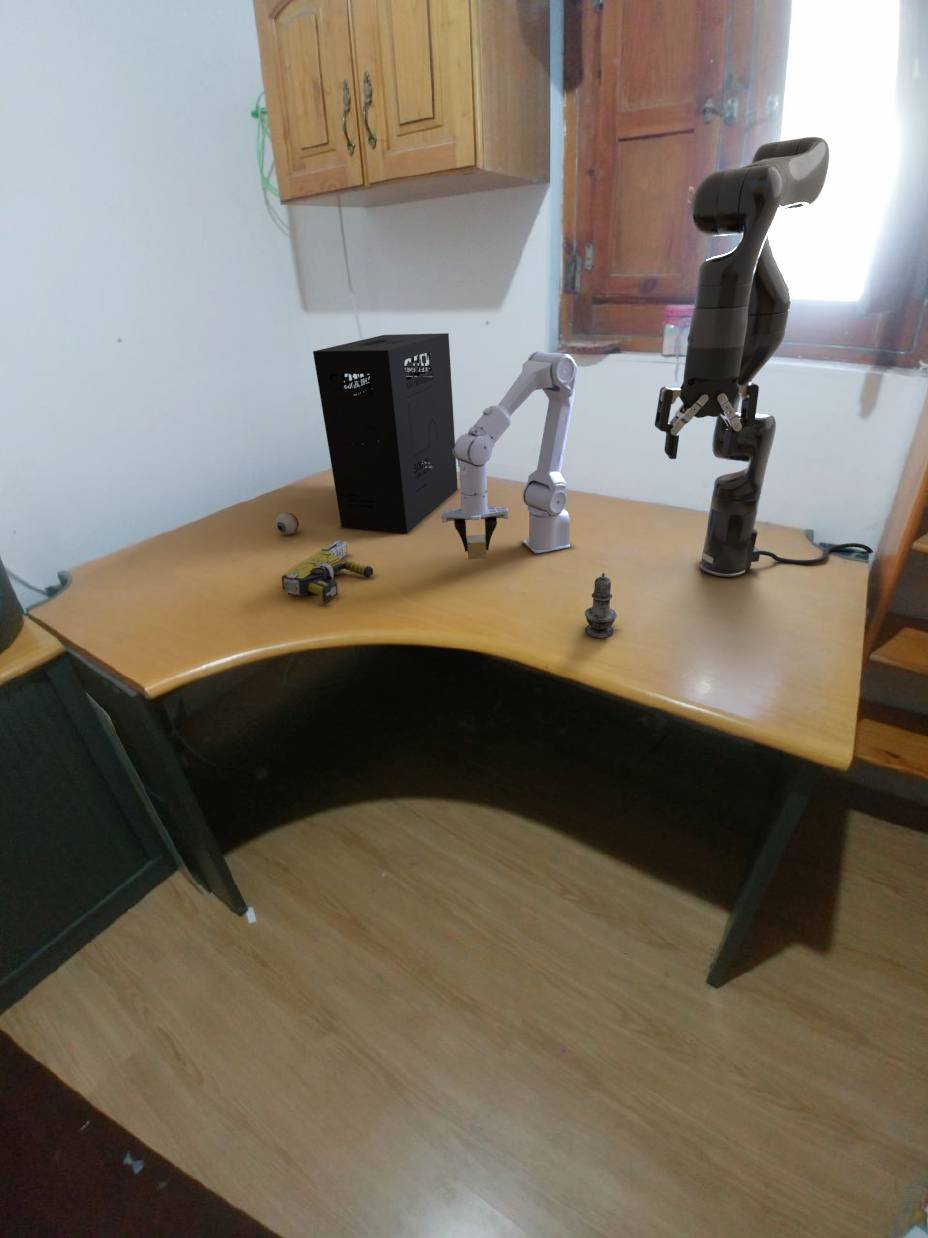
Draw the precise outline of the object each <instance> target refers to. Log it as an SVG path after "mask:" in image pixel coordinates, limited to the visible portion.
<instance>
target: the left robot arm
mask: <svg viewBox="0 0 928 1238" xmlns="http://www.w3.org/2000/svg"><path fill="white" fill-rule="evenodd" d="M527 358H528V359H527V360H526V361H524V362H523V363H522V367H521V372H520V374H519V375H518V377H516V379H515V381H514V382H512V383H513V384H511V386H510V387H509V389H508V390H507V392H506V393H505V395H504V396H503V397H502V398H501V400H500V402H499V403H498V404H497V405H490V406H489V407H485V408H484V410H483V411H482V415H481V416H480V417H479V419H477V421H476V422H475V424H474V425H473V426H471V427H470V428H469V430H468V432H467V433H464V434H461V435H460V436H459V437H458V438H457V439H456V440H455V448H453V454H454V456H455V458H456V461H457V465H458V467H459V468H458V469H459V485H460V501H461V502H460V504H461V508H456V509H455V508H454V509H450V510H442V511H441V520H442V523H448V522H454V528H455V530H456V531H457V533H458V535H459V537H460V539H461V542H462V544H463V547H464V552H465V553H466V552H467V553H468V546H467V525H466V524H467V523H466V521H480V520H484V530H485V531H484V535H485V539H486V551H490V543H491V540H492V536H493V534H494V532H495V530H496V527H497V525H498V520H497V519H503V520H507V519H509V509H508V507H496V506H489V505H488V476H487V475H488V474H487V462H489V461H490V459H491V457H492V455H493V449H494V447H495V444H496V443H497V441H499V439H500V438H501V437H502V435H503V434H504V433H505V432H506V431H507V429H508V428H510V426H511V416H512V415H513V414H514V413H515V412H516V411H517V409H519V408H520V406H522V405H523V403H524V402H525V401H526V400H527V399H528V398H529V397H531V395H532V394H533V393H534V391H538V390H542V391H543V393H544V394H545V395H546V397H547V398H548V404H547V409H546V416H545V422H544V426H543V427H544V428H543V433H542V439H541V445H540V451H539V456H538V460H537V461H538V462H537V467H536V470H534V471H533V472H532V473H530V474H529V475H528V477H527V482H526V484H525V486H524V488H523V491H522V500H523V502H524V504H525V505H526V506H527V511H529V512H528V513H529V514H528V539H524V540H523V541H522V543H523V544H524V545H525V546H526V547H527V548H528V549H530V550H531V551H532V552H533V553H534V554H537V555H538V554H542V553H548V552H552V551H558V550H564V549H568V548H571V544H570V535H571V534H570V533H571V532H570V531H571V519H570V514H569V512H568V511H567V509H566V505H567V502H568V495H567V486H568V483H567V481H566V480H565V478H564V477H563V475H562V473H561V470H562V465H563V460H564V454H565V449H566V445H567V440H568V433H569V429H570V423H571V418H572V412H573V407H574V403H575V397H576V385H575V384H576V380H577V376H578V371H579V370H578V369H579V367H578V365H577V363H576V361H575V359H573V357H572V356H571V355H570V354H568V353H551V352H543V351H539V350H538V351H537V350H536V351H534V352H533V353H531V354H530V355H529V357H527Z"/></svg>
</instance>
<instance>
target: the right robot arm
mask: <svg viewBox="0 0 928 1238" xmlns="http://www.w3.org/2000/svg"><path fill="white" fill-rule="evenodd" d="M829 160H830V147H829V144H828V142H827V141H826V140H825V139H824V138H822V137H818V136H808V137H801V138H794V139H793V138H792V139H787V140H781V141H773V142H768V143H764V144H762V145H760V146H759V147H758V148H757V150H756V151H755V153H754V155H753V158H752V160H751V163H749V164H748V165H745V166H742V167H738V168H729V169H721V170H718V171H717V170H715V171H712V172H710V173H708V175H706V176H705V177H704V178H703V179H702V180H701V181H700V183H699V184H698V186H697V187H696V189H695V191H694V194H693V196H692V199H691V204H690V218H691V222H692V225H693V227H694V228H695V230H696V231H697V232H698V233H700V234H701V235H703V236H705V237H718V236H728V235H729V236H731V235H742V236H741V239H740V241H739V243H738V244H737V246H736V247H735V248H734V249H732V251H730V252H728V253H725V254H721V255H717V256H713V257H711V258H708V259H706V260H704V261H703V262H701V264H700V266H699V269H698V275H697V281H696V287H695V288H696V289H695V297H694V305H693V306H694V307H693V311H692V316H691V319H690V323H689V328H688V329H689V331H688V335H687V346H686V353H685V360H684V361H685V362H684V371H683V381H682V384H681V386H680V388H669V387H667V386H662V387H661V388H660V390H659V395H658V400H657V401H658V402H657V407H656V415H655V418H654V419H655V420H654V427H655V428H657V430H659V431H660V432H664V433H665V441H664V453H665V454H666V456H667V457H668V458H669V459H670V460H677V456H678V450H679V449H678V448H679V440H680V434H679V432H680V431H681V430H682V429H683V428H684V426H685V425H686V424H688V423H690V422H691V420H692V419H693V418H694V417H695V418H697V419H701V418H706V417H712V418H716V419H715V424H714V429H713V435H712V443H711V450H712V455H713V456H714V457H715V458H716V459H718V460H725V461H732V462H733V461H734V462H741V463H748V464H747V467H745V468H744V469H741V470H739V471H735V472H730V473H726V474H722V475H719V476H717V478H715V480H714V482H713V487H712V492H711V499H710V505H709V512H708V517H707V525H706V531H705V537H704V544H703V549H702V553H701V561H700V564H699V565H700V570H702V571H703V572H705V573H706V574H709V575H712V576H716V577H720V578H735V577H736V578H737V577H740V576H742V575H744V574H745V573H750V571H751V565H752V563H756V562H759V561H760V556H765V557H770V558H772V560H774V561H775V562H779V563H785V564H793V565H815V564H819V563H823V562H824V561H826V560H827V559H828V556H829V552H832V551H834V550H840V549H846V548H860V549H863V550H865V551H866V552H867V553H871V554H872V553H874V550H873V549H872V548H871V547H870V546H868V545H866V544H864V543H859V542H848V543H840V544H835V545H830V546H827V547H826V548H824V550H823V553H822V556H821V557H817V558H814V559H791V558H785V557H780V556H778V555H777V554H775V553H774V552H771V551H767V550H761V549H759V548H757V547H756V542H757V537H758V531H757V529H755V525H756V520H757V515H758V509H759V505H760V501H761V495H762V489H763V485H764V481H765V475H766V471H767V467H768V463H769V459H770V455H771V451H772V447H773V444H774V441H775V436H776V430H777V422H776V418H775V416H773V415H771V414H766V413H757V408H758V400H759V391H760V387H759V386H760V385H758V384H756V383H754V382H752V381H753V380H754V379H755V377H756V375H757V374H758V373H759V372H760V371H761V370H762V369H763V368H764V367H765V365H766V364H767V363H768V362H769V361H770V359H771V358H772V357H773V356H774V354H775V353H776V352H777V350H778V349H779V347H780V346H781V345H782V342H783V341H784V337H785V334H786V330H787V329H786V328H787V324H788V318H789V314H790V307H791V299H792V298H791V292H790V289H789V287H788V284H787V282H786V279H785V276H784V274H783V272H782V271H781V269H780V267H779V264H778V262H777V260H776V258H775V255H774V252H773V249H772V245H771V243H770V237H769V232H770V230H771V227H772V224H773V223H774V220H775V218H776V216H777V214H778V211H788V210H796V209H801V208H805V207H808V206H810V205H812V204H813V203H814V202H815V201H816V200H817V199H818V197H819V196H820V194H821V193H822V190H823V188H824V185H825V182H826V178H827V176H828V175H827V174H828V169H829ZM678 398H679V399H680V401H681V402H682V404H681V405H680V406H679V408H678V409H677V410H676V412H675V413H674V416H673V417H672V418H671V419H670V414H671V409H672V405H673V404H675V402H676V401H677V399H678ZM740 403H741V405H740V407H741V408H740V411H738V408H739V404H740ZM669 420H670V421H669Z"/></svg>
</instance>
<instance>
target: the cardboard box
mask: <svg viewBox="0 0 928 1238" xmlns="http://www.w3.org/2000/svg"><path fill="white" fill-rule="evenodd" d="M450 351H451V350H450V334H449V332H447V333H445V332H444V333H443V332H442V333H441V332H440V333H407V334H406V333H405V334H403V333H401V334H398V333H397V334H381V335H377V336H372V337H369V338H364V339H361V340H356V341H352V342H347V343H343V344H338V345H335V346H330V347H326V348H321V349H317V350H313V351H312V355H313V360H314V366H315V372H316V379H317V386H318V391H319V397H320V404H321V410H322V415H323V416H322V417H323V422H324V428H325V433H326V441H327V447H328V452H329V458H330V466H331V471H332V472H331V473H332V477H333V483H334V489H335V495H336V501H337V502H336V503H337V509H338V514H339V520H340V527H341V528H347V529H348V528H349V529H358V530H359V529H360V530H370V531H378V532H379V531H380V532H389V533H402V534H408V533H410V531H412V530H413V529H414V528H415V527H416V526H418V525H419V524H420V523H421V522H422V521H423V520H424V519H426V518H427V517H428V516H429V515H430V514H431V513H432V512H433V511H435V510H436V509H437V508H439V506H440V505H442V504H443V503H444V502H445V501H447V500H448V498H450V497H451V496H452V495H453V494H454V493H456V492H457V490H459V489H458V472H457V471H458V470H457V459H456V458H455V456H454V454H453V448H455V443H456V434H455V419H454V404H453V403H454V401H453V400H454V399H453V387H452V367H451V352H450ZM421 355H422V356H421ZM415 357H416V360H415ZM409 359H410V360H409ZM406 360H407V362H406ZM427 361H428V363H427ZM405 363H406V364H405ZM426 363H427V365H426ZM422 364H423V365H422ZM354 375H356V378H355V377H354ZM361 375H363V376H361ZM350 377H351V380H350Z"/></svg>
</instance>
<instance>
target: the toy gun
mask: <svg viewBox="0 0 928 1238" xmlns="http://www.w3.org/2000/svg"><path fill="white" fill-rule="evenodd" d="M345 548H348V543H347V542H346V541H343V540H342V541H341V540H339V539H338V540H335V541H334V542H333V543H331V544H330V545H327V546H326V547H325V548H321V549H320V550H318V551H317V552H316V553H314V554H312V555H311V556H310V557H307V559H305V560H304V561H302V562H300V563H299V564H298V565H296V566H294V567H293V568H291V569H290V570H288V571H287V572H285V573H284V574H282V576H281V585H282V586H281V587H282V590H283V591H284V592H285V593H287V596H292V597H295V596H302V597H303V596H307V595H310V594H315V595H318V596H320V597H322V601H323V602H325V603H327V602H328V601H330V600H332V599H333V598H335V597H337V596H338V594H339V593H338V582H337V581H336V580H334V578H335V577H334V575H336V574H337V573H340V572H342V571H343V570H346V571H349V572H353V573H355V574H358V575H361V576H364V577H366V578H370V577H372V576H373V575H374V569H373V567H372V566H370V565H365V564H361V563H359V562H357V561H352V560H349V559H347V560H345V561H344V562H342V560H343V558H344V557H347V556H348V554H349V553H348V549H346V552H344V549H345Z"/></svg>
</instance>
